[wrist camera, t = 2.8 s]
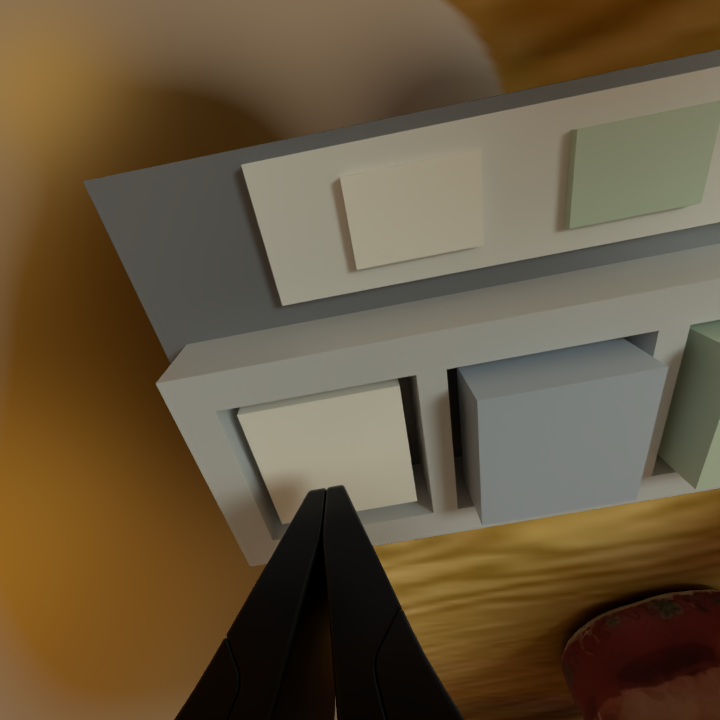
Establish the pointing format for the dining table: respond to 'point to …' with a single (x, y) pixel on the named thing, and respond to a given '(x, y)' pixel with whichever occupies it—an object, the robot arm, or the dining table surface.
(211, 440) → the keypad
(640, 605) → the decorative planter
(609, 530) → the dining table surface
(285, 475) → the ivory key
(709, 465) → the sage key
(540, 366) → the slate key
